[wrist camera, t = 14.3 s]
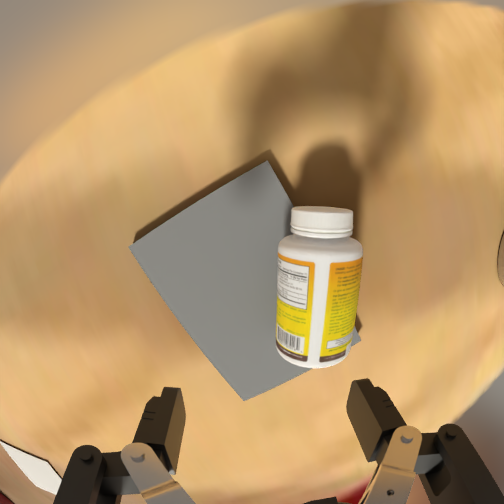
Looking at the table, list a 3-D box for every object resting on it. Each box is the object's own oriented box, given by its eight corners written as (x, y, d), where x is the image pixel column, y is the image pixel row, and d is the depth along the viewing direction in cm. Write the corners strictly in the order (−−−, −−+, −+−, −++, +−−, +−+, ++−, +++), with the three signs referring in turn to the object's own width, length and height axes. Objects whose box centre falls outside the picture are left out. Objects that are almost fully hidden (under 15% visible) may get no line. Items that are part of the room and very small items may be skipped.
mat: (265, 161, 21) (267, 160, 20) (357, 335, 25) (361, 340, 24) (132, 244, 21) (128, 246, 21) (243, 394, 25) (244, 401, 24)
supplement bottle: (349, 335, 22) (362, 208, 20) (349, 376, 17) (370, 215, 14) (282, 329, 24) (287, 203, 21) (266, 366, 18) (269, 210, 16)
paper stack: (10, 471, 32) (9, 473, 31) (-44, 394, 26) (-45, 395, 25) (85, 502, 33) (84, 505, 32) (27, 428, 27) (25, 430, 26)
